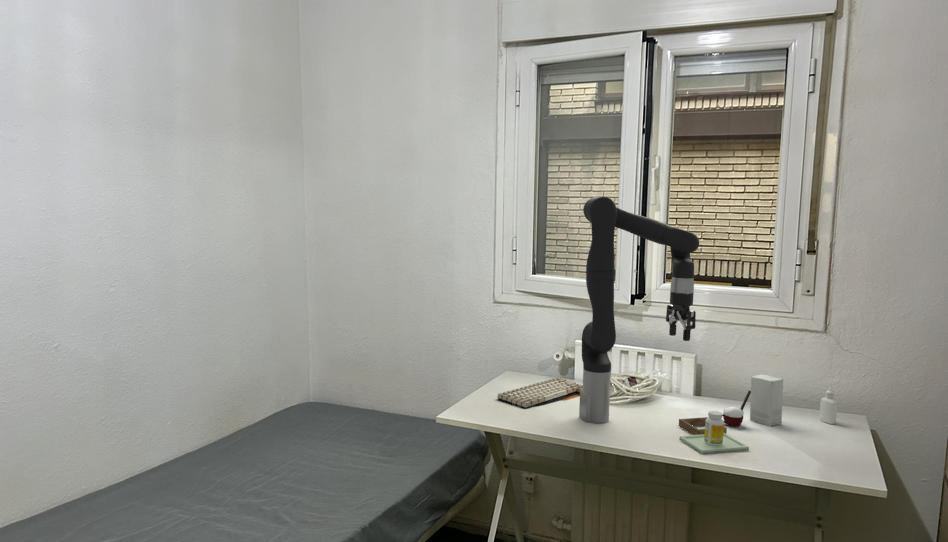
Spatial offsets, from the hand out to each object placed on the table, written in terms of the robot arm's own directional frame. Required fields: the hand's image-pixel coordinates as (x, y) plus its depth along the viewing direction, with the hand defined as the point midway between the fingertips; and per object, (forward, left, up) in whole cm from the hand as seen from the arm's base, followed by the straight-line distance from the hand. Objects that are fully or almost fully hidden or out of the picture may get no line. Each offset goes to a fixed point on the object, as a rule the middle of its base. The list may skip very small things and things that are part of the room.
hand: (679, 338), depth 219 cm
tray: (-2, -25, -28) cm, 38 cm away
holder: (+2, -13, -28) cm, 31 cm away
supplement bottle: (-2, -25, -28) cm, 37 cm away
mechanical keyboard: (-35, +33, -29) cm, 56 cm away
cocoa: (+16, -10, -28) cm, 34 cm away
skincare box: (+29, -9, -28) cm, 42 cm away
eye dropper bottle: (+51, -13, -28) cm, 60 cm away
